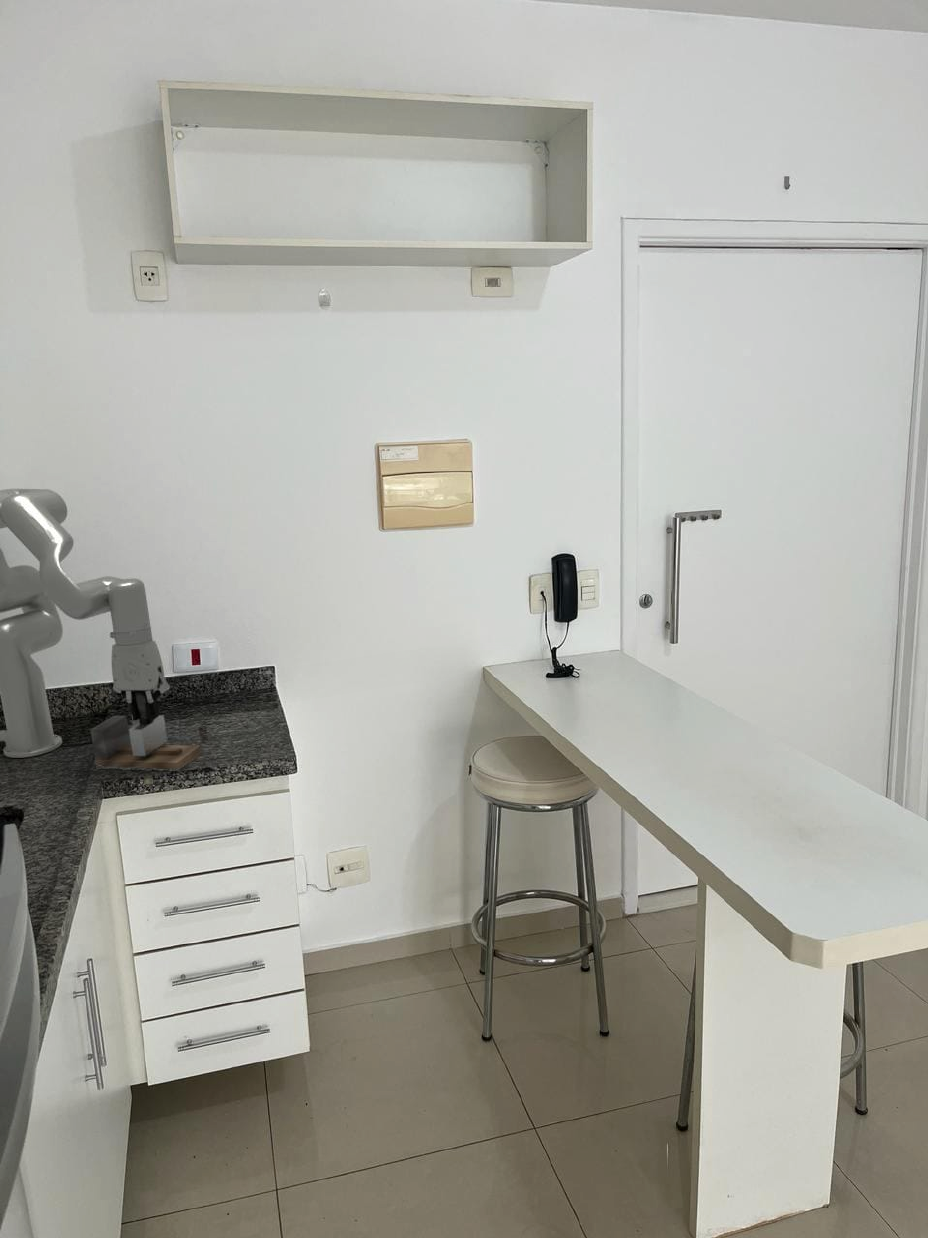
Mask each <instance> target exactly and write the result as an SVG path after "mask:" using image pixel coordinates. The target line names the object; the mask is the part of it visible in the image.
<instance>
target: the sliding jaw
mask: <svg viewBox="0 0 928 1238" xmlns="http://www.w3.org/2000/svg"><path fill="white" fill-rule="evenodd" d="M134 692H135V698H136V704H137V711H138V717H139V723H138V724H137V725H135V726H134V727H133V726H132V727H130V728H128V730H129V737H130V743H131V745H132V752H133V756H146V755H148V754H149V753H151V752H152V751H154V750H155V749H157V748H158V747H159V746H161V745H165V743H167V742H168V735H167V728H166V722H165V716H164V715H161V714H160V715H159V716H158V717H157V718H156V719H154V720H152V721H149V720H148V715H147V708H146V704H147V703H148V700H147V696H146V692H145V691H134Z"/></svg>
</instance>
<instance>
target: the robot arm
mask: <svg viewBox="0 0 928 1238" xmlns="http://www.w3.org/2000/svg"><path fill="white" fill-rule="evenodd" d="M67 516H68V506H67V504H66V502H65V500H64V498H63V497H62V496H61V495H60V494H59V493H57V492H55V490H51V489H48V488H41V489H40V488H7V489H0V529H6V528H8V530H9V531H10V532H12V534H13V535H14V536H15V537H16V538H17V539H18V541H19V542H21V544H22V545H23V546H25V548H26V549H27V550H28V551H29V552H30V553H31V555H33V556H34V558H35V559H36V560H37V561H38V562H39V566H38V567H39V568H38V569H39V570H38V569H37V568H36V567H33V566H31V565H26V564H24V565H22V564H21V565H16V566H12V567H10V566H9V565H8V563H7V562H8V561H7V560H6V557H5V555H4V551H3V550H2V548H1V547H0V614H2V613H6V612H11V611H13V610H16V609H20V608H21V611H22V612H23V613H20V614H15V615H12V616H8V617H4V618H2V619H0V700H1V705H2V711H3V716H4V720H5V725H6V726H5V727H6V730H0V742H5V746H4V748H3V755H4V756H5V757H7V758H12V759H13V758H14V759H16V758H17V759H20V758H29V757H35V756H41V755H44V754H46V753H49V752H52V751H54V750H56V749H58V748H59V747H60V746H61V745H62V744H63V739H62V737H61V736H59V735H57V734H55V733H54V730H53V723H52V718H51V717H52V716H51V712H50V707H49V701H48V697H47V696H48V695H47V691H46V685H45V684H46V683H45V680H44V674H43V672H42V669H41V667H40V666H39V665H38V663H37V662H36V661H35V660H34V659H33V658H32V656H31V655H33V654H36V653H38V652H41V651H44V650H47V649H50V648H52V647H54V646H56V645H58V644H59V642H60V641H61V640H62V637H63V624H62V620H61V618H60V615H59V614H60V613H59V612H58V610H57V608H58V609H59V610H60V611H61V612H62V613H63V614H64V615H66V616H67V617H68V618H69V617H70V618H72V619H74V620H82V621H83V620H86V619H87V620H88V619H89V618H93V617H96V616H99V615H102V614H106V613H110V617H111V624H112V631H111V632H110V633H109V637H110V639H114V644H112V648H111V674H112V675H111V676H112V680H113V681H112V683H113V686H112V689H113V691H114V692H116V693H119V694H120V695H121V696H122V697H124V699H125V700H126V703H127V704H129V707H130V714H132V715H131V718H132V717H133V721H136V720H138V719H139V717H138V711H137V704H136V698H135V692H134V691H145V692H146V696H147V700H148V703H147V704H146V708H147V715H148V720H149V721H152V720H154V719H156V718H157V717H158V716H159V714H160V709H159V703H158V700H159V699H160V697H161V696H162V695H163V694H164V693H165V692H167V691H168V690H170V689H171V686H170V684H169V683H168V681H167V679H166V678H165V671H164V665H163V661H162V658H161V653H160V650H159V647H158V645H157V643H156V640H153V634H152V626H151V622H150V621H151V619H150V615H149V608H148V601H147V594H146V593H147V592H146V587H145V584H144V582H143V581H142V580H141V579H139V578H120V577H116V576H110V575H109V576H107V575H106V576H102V577H97V578H94V579H91V580H90V579H89V580H86V581H82V582H78V583H75V581H74V580H72V578H71V577H69V575H68V574H67V573H66V572H65V570H64V569H63V566H62V564H61V562H62V561H64V560H65V559H66V558H67V556H68V555H69V554H70V553H71V551H72V549H73V547H74V538H73V537H72V534H70V533H69V532H68V531H67V530H66V529H65V528H64V527H63V526H62V525H61V524H63V523H64V522H65V521H66V519H67ZM158 686H159V688H158ZM133 721H132V722H133Z"/></svg>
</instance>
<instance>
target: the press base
mask: <svg viewBox="0 0 928 1238" xmlns="http://www.w3.org/2000/svg"><path fill="white" fill-rule="evenodd" d="M127 719H128V718H127V715H113V716H111V717H110V718H108V719H106V720H105V721H104V720H103V722H100V724H98V725H96V726H94V727H92V728H91V729H90V736H91V741H92V747H93V754H94V759H95V760H94V761H93V762H94V766H95V765H102V766H116V767H118V766H120V767H146V768H156V769H172V770H178V769H180V768H181V767H184V766H185V765H186V766H187V764H188V763H189V764H190V763H192V762H193V761H194V760H196V759H197V758H198V757H199V756H201V755H202V749H201V745H187V744H186V745H185V744H184V745H183V744H182V745H180V744H176V745H175V744H162V745H161V746H159V747H158V748H157V749H155V750H154V751H152V752H151V753H149V754H148V755H146V756H133V752H132V745H131V739H130V733H129V725H128V720H127ZM189 764H188V765H189ZM186 766H185V767H186ZM185 767H184V768H185Z"/></svg>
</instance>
